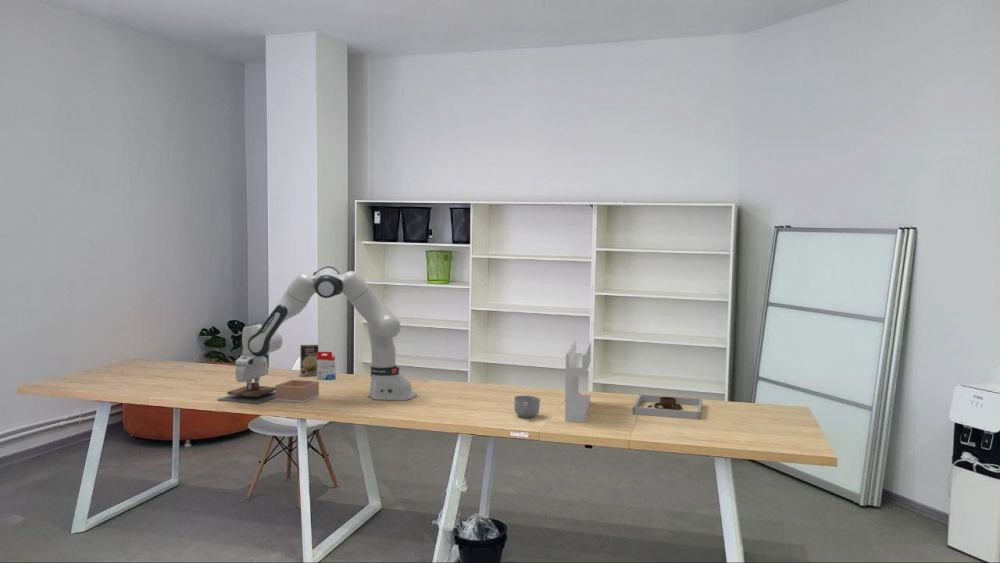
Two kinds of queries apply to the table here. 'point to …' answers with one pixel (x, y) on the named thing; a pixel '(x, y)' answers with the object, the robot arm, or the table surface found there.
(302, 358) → the coffee box
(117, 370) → the table surface
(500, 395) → the table surface
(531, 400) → the teacup
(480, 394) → the table surface
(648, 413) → the grey tray frame
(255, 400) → the rubber mat
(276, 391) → the salmon open box
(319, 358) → the ink box
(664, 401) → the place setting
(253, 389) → the walnut lid
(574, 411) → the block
